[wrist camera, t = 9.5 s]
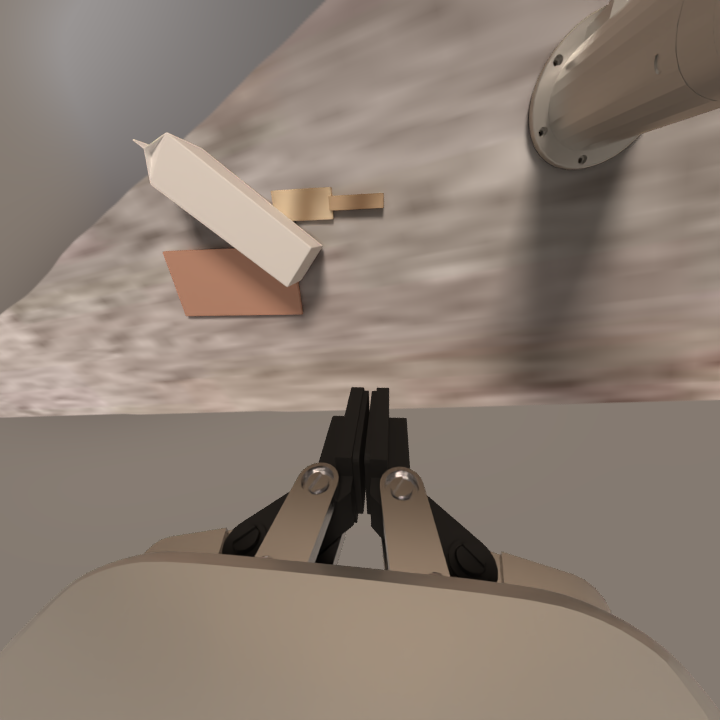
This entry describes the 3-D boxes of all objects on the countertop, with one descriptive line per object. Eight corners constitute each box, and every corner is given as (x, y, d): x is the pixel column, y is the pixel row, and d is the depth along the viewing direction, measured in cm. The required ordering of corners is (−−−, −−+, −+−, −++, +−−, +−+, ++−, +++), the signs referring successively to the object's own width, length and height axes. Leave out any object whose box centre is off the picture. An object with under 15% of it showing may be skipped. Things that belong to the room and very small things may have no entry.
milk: (323, 246, 37) (180, 128, 33) (312, 248, 32) (138, 107, 28) (300, 281, 40) (164, 175, 36) (286, 288, 34) (123, 164, 30)
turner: (277, 221, 37) (275, 221, 37) (272, 191, 36) (269, 190, 35) (383, 216, 35) (383, 216, 35) (383, 184, 34) (383, 183, 33)
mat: (165, 251, 41) (162, 251, 40) (292, 245, 38) (291, 245, 38) (188, 314, 45) (186, 316, 45) (303, 313, 43) (302, 314, 42)
